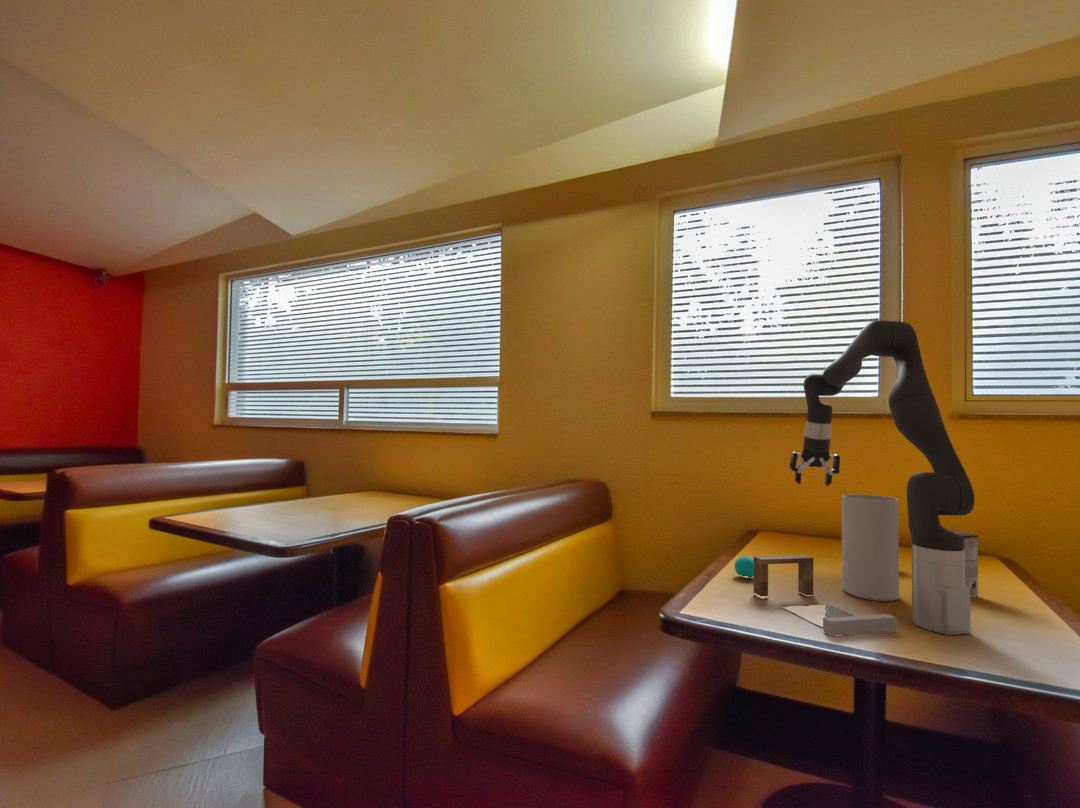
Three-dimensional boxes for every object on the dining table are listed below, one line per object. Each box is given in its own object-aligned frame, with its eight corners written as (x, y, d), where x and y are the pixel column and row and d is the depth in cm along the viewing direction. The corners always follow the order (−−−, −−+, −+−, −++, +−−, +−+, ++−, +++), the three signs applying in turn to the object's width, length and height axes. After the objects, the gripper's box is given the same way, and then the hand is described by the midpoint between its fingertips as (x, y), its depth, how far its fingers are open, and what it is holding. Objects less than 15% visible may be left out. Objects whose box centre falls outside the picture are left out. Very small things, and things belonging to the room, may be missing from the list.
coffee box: (926, 588, 142) (925, 528, 143) (942, 586, 144) (941, 527, 145) (963, 599, 134) (962, 535, 134) (979, 597, 136) (979, 534, 137)
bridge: (813, 596, 133) (813, 557, 133) (760, 599, 130) (761, 559, 130) (805, 592, 136) (805, 554, 136) (753, 595, 133) (753, 556, 133)
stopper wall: (896, 631, 110) (896, 617, 110) (830, 636, 107) (830, 621, 107) (888, 628, 112) (887, 614, 112) (823, 632, 109) (823, 618, 109)
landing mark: (872, 624, 114) (872, 623, 114) (820, 627, 111) (820, 626, 111) (827, 604, 127) (827, 603, 127) (780, 607, 124) (780, 606, 124)
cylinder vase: (831, 590, 138) (831, 495, 140) (860, 584, 144) (860, 493, 145) (880, 605, 127) (880, 501, 129) (909, 598, 133) (908, 499, 134)
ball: (761, 580, 146) (761, 558, 146) (742, 581, 145) (742, 559, 145) (748, 574, 152) (749, 553, 152) (730, 575, 151) (730, 554, 151)
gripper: (796, 437, 166) (792, 486, 168) (845, 439, 163) (840, 489, 165) (790, 432, 173) (786, 479, 175) (837, 434, 170) (832, 482, 173)
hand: (812, 484), depth 170 cm, fingers open, 8 cm apart
